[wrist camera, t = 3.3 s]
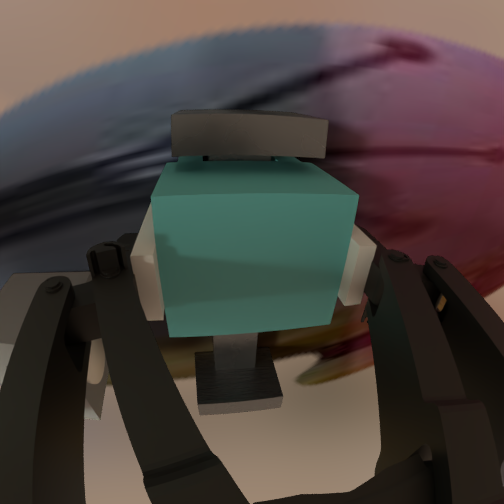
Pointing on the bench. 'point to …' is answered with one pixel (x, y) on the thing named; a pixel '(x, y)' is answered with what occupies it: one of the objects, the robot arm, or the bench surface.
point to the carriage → (249, 244)
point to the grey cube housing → (12, 316)
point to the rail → (242, 149)
